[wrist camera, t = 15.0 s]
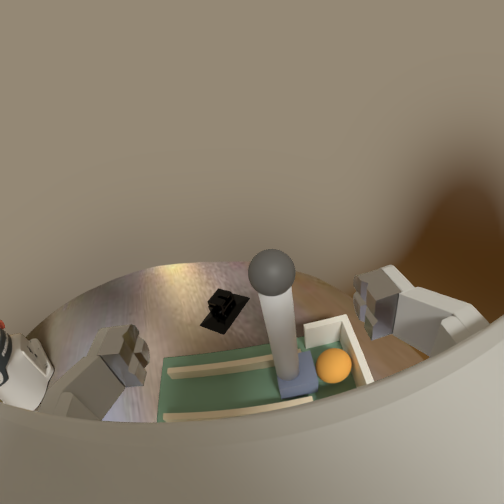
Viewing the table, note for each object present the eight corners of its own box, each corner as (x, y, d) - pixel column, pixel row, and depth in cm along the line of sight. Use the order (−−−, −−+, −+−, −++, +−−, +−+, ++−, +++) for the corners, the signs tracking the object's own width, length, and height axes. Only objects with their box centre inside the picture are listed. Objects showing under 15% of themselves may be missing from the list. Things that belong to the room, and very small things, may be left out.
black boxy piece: (224, 344, 44) (216, 328, 42) (191, 331, 48) (182, 315, 45) (257, 295, 53) (253, 278, 50) (226, 287, 56) (220, 271, 54)
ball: (352, 367, 35) (320, 379, 36) (343, 338, 36) (310, 350, 37) (358, 381, 30) (322, 394, 31) (348, 348, 31) (311, 362, 32)
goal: (168, 435, 30) (151, 424, 27) (173, 364, 41) (161, 347, 38) (369, 404, 29) (377, 390, 27) (343, 334, 40) (346, 314, 37)
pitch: (156, 445, 29) (155, 444, 29) (164, 359, 42) (163, 357, 42) (378, 412, 28) (379, 411, 28) (346, 327, 42) (346, 325, 41)
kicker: (278, 400, 33) (246, 278, 20) (273, 370, 37) (242, 242, 24) (317, 391, 33) (319, 263, 20) (310, 363, 37) (303, 230, 24)
